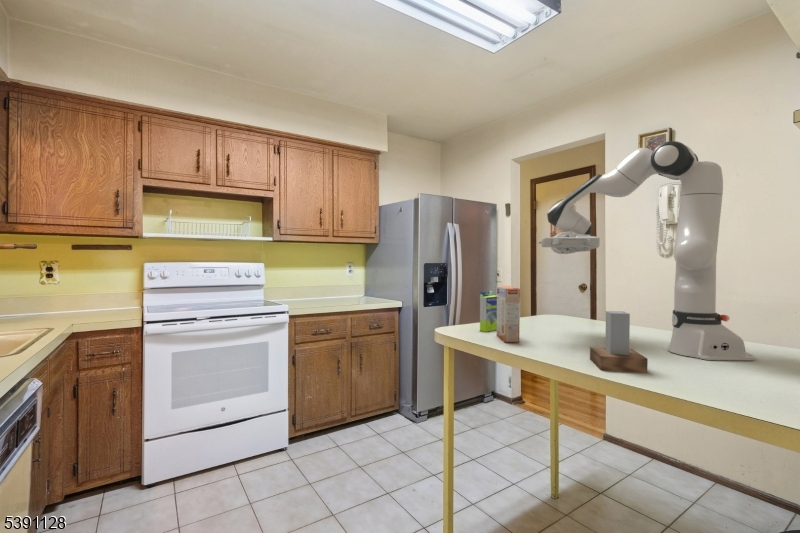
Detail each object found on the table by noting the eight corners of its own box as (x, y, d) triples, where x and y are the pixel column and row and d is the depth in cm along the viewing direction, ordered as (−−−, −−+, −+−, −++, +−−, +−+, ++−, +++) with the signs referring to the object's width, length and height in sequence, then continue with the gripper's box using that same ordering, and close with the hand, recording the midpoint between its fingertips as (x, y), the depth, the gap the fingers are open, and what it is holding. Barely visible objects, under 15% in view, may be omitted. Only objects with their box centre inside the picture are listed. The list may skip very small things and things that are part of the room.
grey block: (623, 350, 116) (623, 311, 116) (629, 354, 111) (629, 313, 111) (605, 350, 117) (605, 311, 117) (610, 354, 112) (610, 313, 112)
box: (486, 332, 166) (486, 292, 166) (478, 331, 170) (478, 292, 169) (500, 329, 174) (500, 291, 173) (492, 328, 177) (492, 290, 176)
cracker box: (520, 343, 145) (520, 288, 145) (504, 343, 145) (504, 288, 145) (510, 335, 159) (510, 285, 159) (496, 335, 159) (496, 285, 159)
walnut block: (631, 361, 119) (631, 348, 119) (647, 372, 107) (647, 358, 107) (589, 359, 122) (590, 346, 122) (600, 370, 110) (600, 356, 110)
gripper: (538, 235, 154) (543, 233, 140) (593, 234, 149) (604, 232, 136) (538, 250, 154) (542, 250, 141) (593, 251, 149) (603, 250, 136)
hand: (573, 241), depth 138 cm, fingers open, 8 cm apart
